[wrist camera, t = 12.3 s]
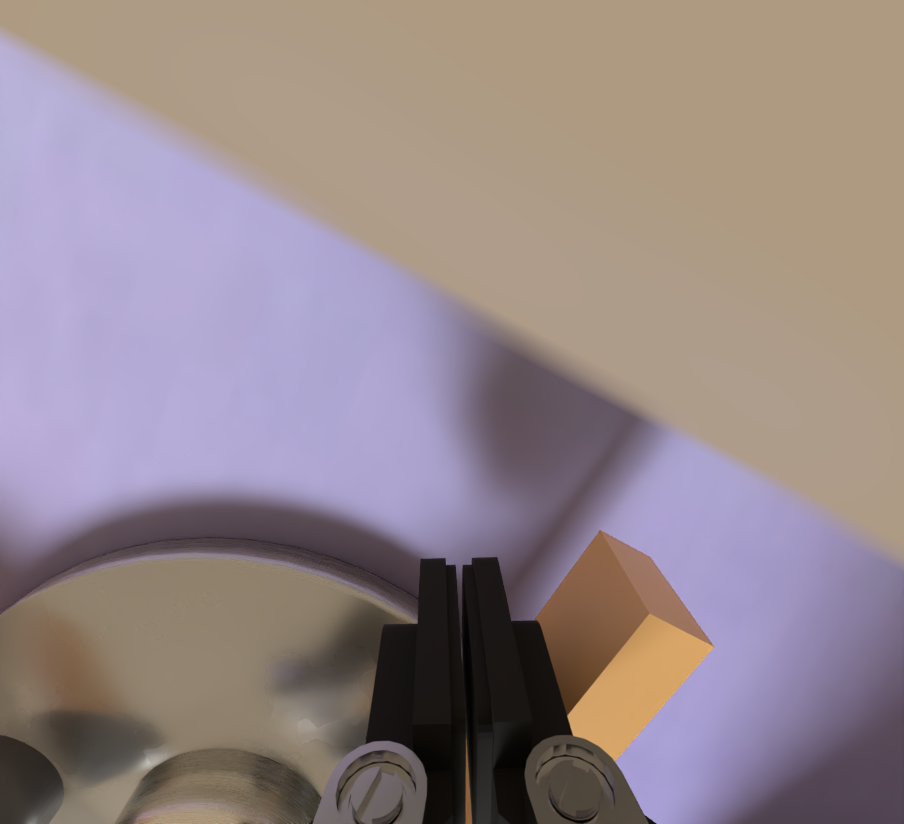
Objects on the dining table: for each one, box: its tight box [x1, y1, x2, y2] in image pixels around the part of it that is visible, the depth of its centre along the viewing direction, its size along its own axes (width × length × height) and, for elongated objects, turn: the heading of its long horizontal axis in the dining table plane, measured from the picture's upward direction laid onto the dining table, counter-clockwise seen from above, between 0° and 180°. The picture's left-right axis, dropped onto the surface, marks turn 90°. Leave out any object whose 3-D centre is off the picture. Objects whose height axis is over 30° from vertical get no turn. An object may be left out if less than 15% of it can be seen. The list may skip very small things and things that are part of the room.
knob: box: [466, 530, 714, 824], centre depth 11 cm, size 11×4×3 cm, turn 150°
